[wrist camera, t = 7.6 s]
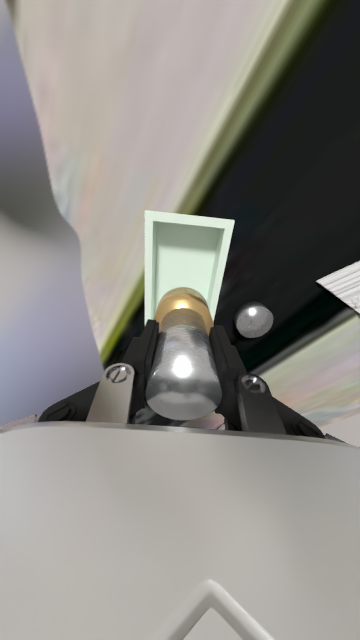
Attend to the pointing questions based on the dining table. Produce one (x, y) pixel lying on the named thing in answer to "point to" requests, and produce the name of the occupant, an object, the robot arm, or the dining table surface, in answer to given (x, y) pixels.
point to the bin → (184, 256)
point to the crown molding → (345, 285)
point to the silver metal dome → (252, 319)
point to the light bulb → (183, 358)
